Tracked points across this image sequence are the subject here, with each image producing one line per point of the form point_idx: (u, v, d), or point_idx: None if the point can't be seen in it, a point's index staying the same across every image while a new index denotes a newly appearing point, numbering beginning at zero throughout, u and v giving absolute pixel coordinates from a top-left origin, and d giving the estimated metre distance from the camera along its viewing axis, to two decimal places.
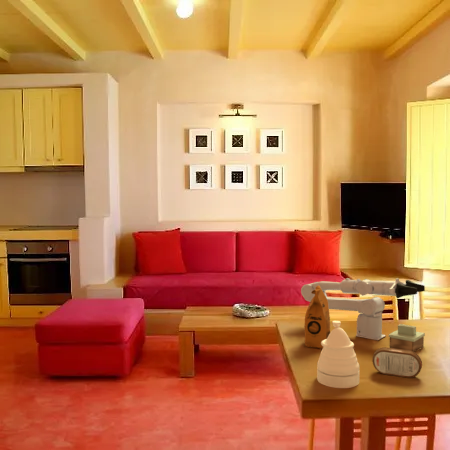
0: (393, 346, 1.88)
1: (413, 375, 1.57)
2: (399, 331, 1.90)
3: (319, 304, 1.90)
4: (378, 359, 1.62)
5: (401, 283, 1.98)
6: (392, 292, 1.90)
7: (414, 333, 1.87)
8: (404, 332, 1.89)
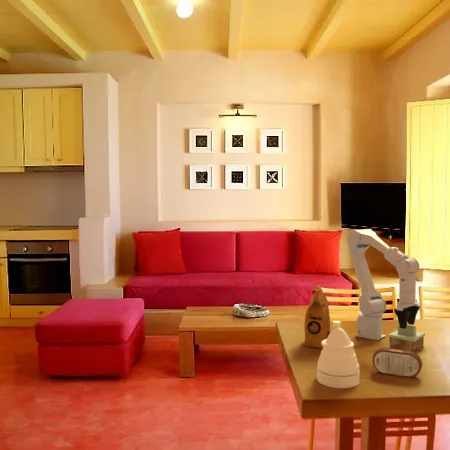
0: (393, 346, 1.88)
1: (413, 375, 1.57)
2: (399, 331, 1.90)
3: (319, 304, 1.90)
4: (378, 359, 1.62)
5: None
6: (398, 308, 1.83)
7: (414, 333, 1.87)
8: (404, 332, 1.89)
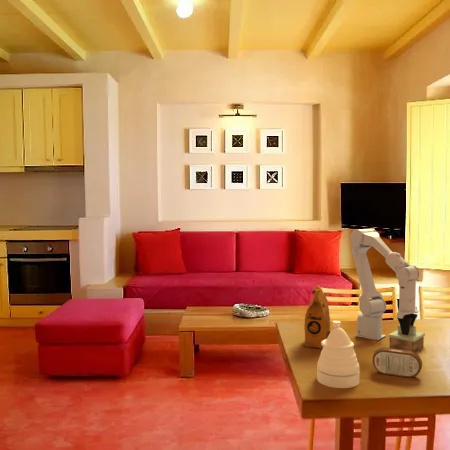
0: (393, 346, 1.88)
1: (413, 375, 1.57)
2: (399, 331, 1.90)
3: (319, 304, 1.90)
4: (378, 359, 1.62)
5: None
6: (398, 316, 1.84)
7: (414, 333, 1.87)
8: None
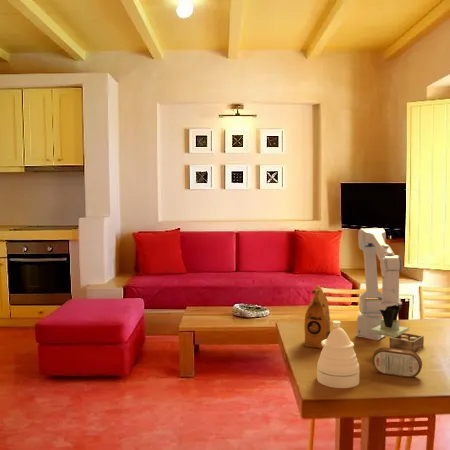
0: (393, 346, 1.88)
1: (413, 375, 1.57)
2: (382, 326, 1.83)
3: (319, 304, 1.90)
4: (378, 359, 1.62)
5: None
6: (380, 307, 1.76)
7: (397, 328, 1.80)
8: (387, 327, 1.81)
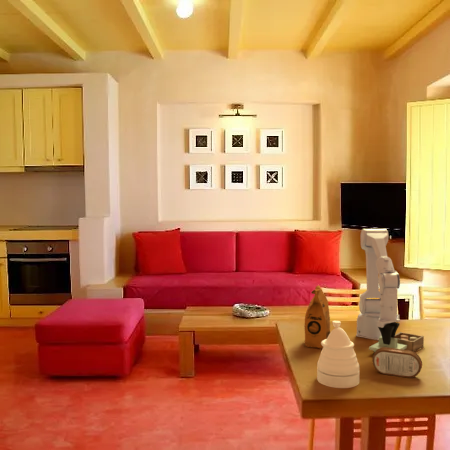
0: None
1: (413, 375, 1.57)
2: (380, 343, 1.82)
3: (319, 304, 1.90)
4: (378, 359, 1.62)
5: None
6: (378, 325, 1.76)
7: (395, 345, 1.80)
8: (385, 344, 1.81)
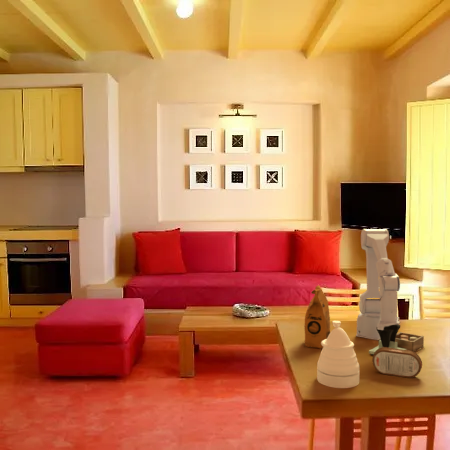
0: None
1: (413, 375, 1.57)
2: (380, 347, 1.83)
3: (319, 304, 1.90)
4: (378, 359, 1.62)
5: None
6: (378, 327, 1.76)
7: None
8: None
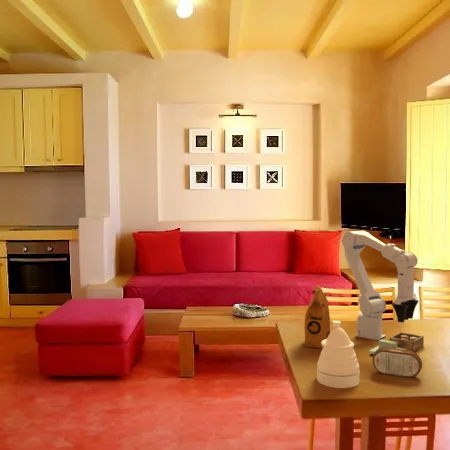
0: None
1: (413, 375, 1.57)
2: (380, 347, 1.83)
3: (319, 304, 1.90)
4: (378, 359, 1.62)
5: None
6: (396, 302, 1.86)
7: None
8: None
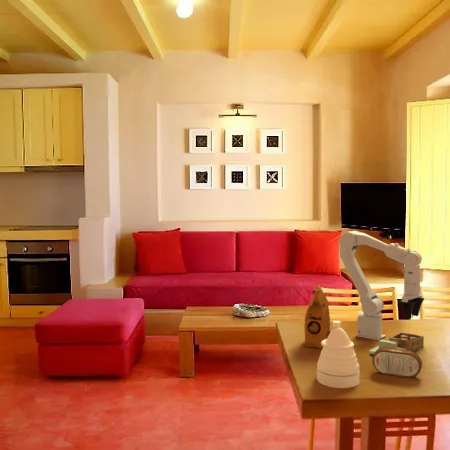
0: None
1: (413, 375, 1.57)
2: (380, 347, 1.83)
3: (319, 304, 1.90)
4: (378, 359, 1.62)
5: None
6: (403, 300, 1.89)
7: None
8: None
